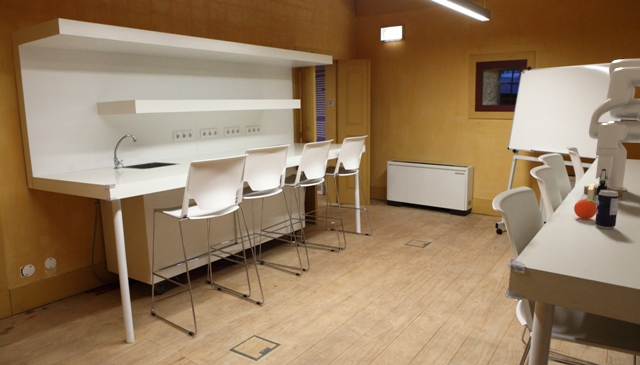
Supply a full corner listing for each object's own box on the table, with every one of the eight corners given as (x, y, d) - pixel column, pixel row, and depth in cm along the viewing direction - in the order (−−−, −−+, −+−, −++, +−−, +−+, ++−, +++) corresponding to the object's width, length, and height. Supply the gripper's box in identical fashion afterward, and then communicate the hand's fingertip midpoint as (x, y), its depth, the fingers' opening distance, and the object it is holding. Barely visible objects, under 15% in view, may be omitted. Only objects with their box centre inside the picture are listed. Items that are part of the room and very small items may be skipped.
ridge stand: (582, 196, 200) (583, 182, 199) (601, 197, 196) (602, 184, 195) (578, 203, 185) (579, 188, 184) (598, 205, 181) (600, 190, 180)
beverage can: (609, 225, 153) (613, 189, 151) (618, 229, 147) (623, 193, 145) (591, 224, 154) (595, 189, 151) (600, 229, 148) (604, 192, 146)
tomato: (599, 218, 162) (602, 198, 161) (598, 222, 156) (601, 202, 155) (574, 215, 166) (576, 196, 165) (572, 219, 160) (574, 199, 159)
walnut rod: (583, 194, 203) (584, 185, 202) (620, 197, 197) (622, 188, 196) (584, 196, 199) (585, 187, 199) (622, 199, 193) (623, 190, 193)
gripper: (597, 150, 204) (592, 191, 207) (595, 153, 190) (590, 196, 193) (617, 151, 200) (612, 193, 203) (616, 154, 186) (611, 198, 189)
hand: (601, 194), depth 198 cm, fingers open, 4 cm apart
